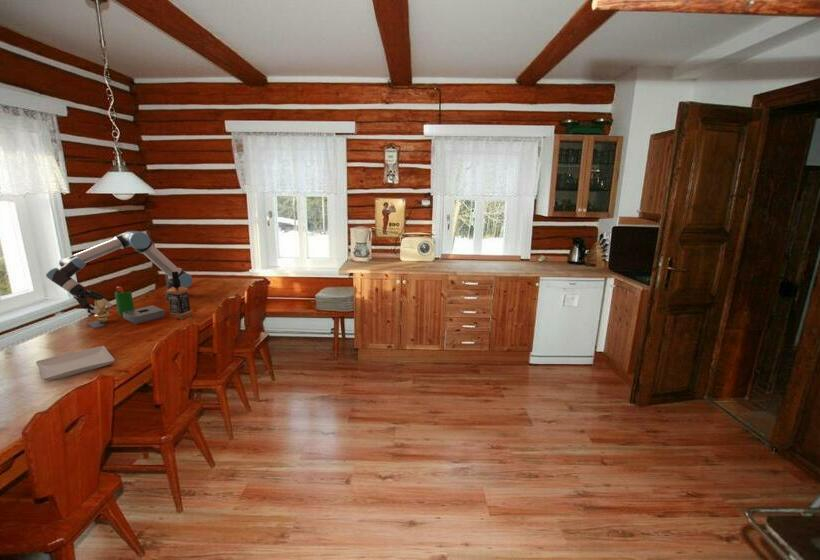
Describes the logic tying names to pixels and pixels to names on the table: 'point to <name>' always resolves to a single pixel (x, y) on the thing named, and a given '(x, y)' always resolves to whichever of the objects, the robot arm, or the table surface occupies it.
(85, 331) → the table surface
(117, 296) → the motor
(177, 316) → the whiskey bottle
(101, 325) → the charcoal mat
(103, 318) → the brass flanged peg
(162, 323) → the table surface
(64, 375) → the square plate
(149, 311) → the plate
